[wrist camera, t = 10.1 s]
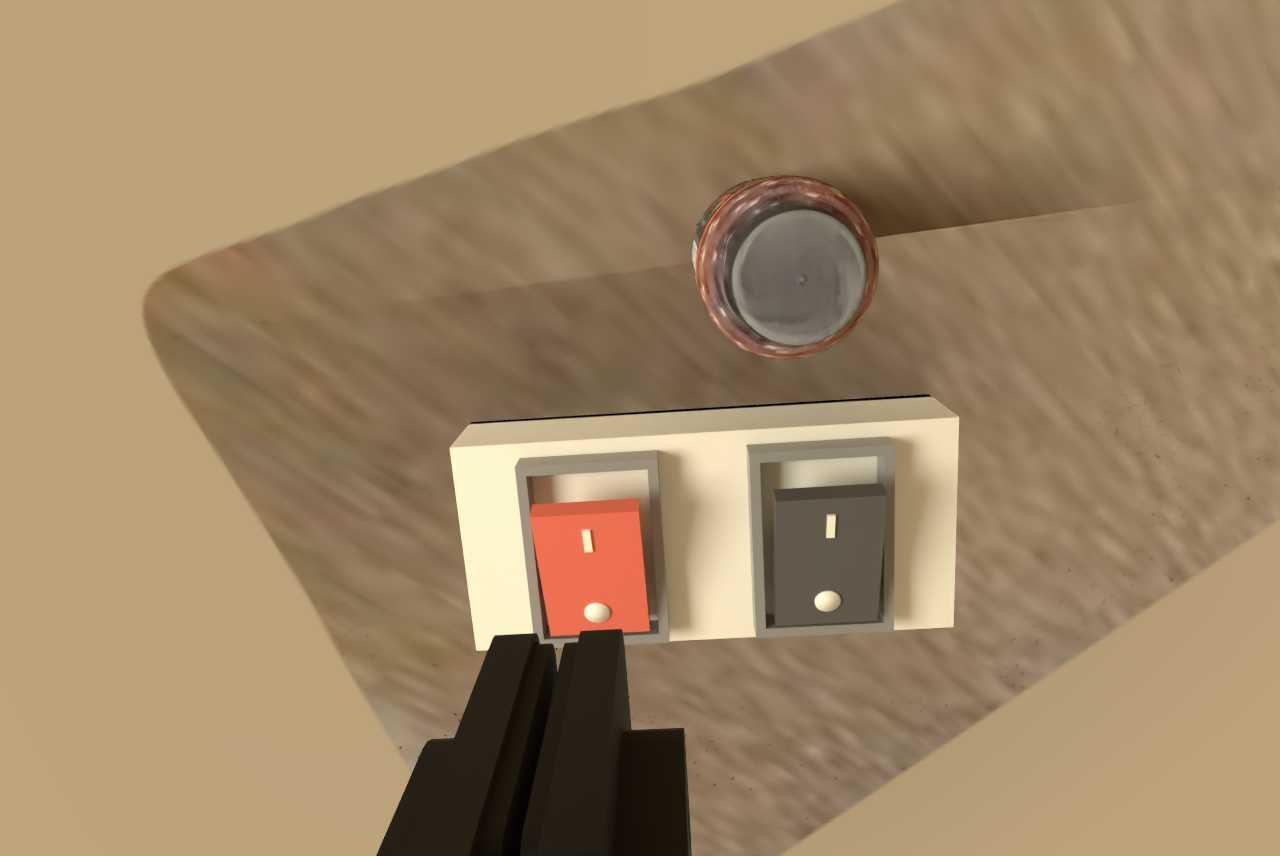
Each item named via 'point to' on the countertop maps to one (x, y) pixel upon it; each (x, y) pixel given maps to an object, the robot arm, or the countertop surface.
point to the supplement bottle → (785, 265)
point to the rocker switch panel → (710, 508)
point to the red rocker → (591, 565)
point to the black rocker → (827, 553)
